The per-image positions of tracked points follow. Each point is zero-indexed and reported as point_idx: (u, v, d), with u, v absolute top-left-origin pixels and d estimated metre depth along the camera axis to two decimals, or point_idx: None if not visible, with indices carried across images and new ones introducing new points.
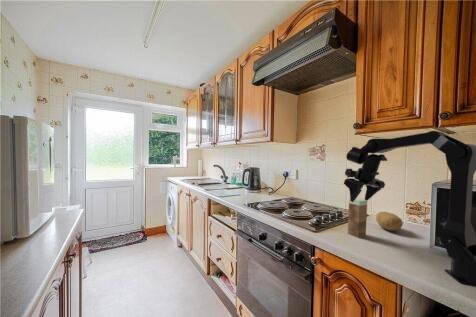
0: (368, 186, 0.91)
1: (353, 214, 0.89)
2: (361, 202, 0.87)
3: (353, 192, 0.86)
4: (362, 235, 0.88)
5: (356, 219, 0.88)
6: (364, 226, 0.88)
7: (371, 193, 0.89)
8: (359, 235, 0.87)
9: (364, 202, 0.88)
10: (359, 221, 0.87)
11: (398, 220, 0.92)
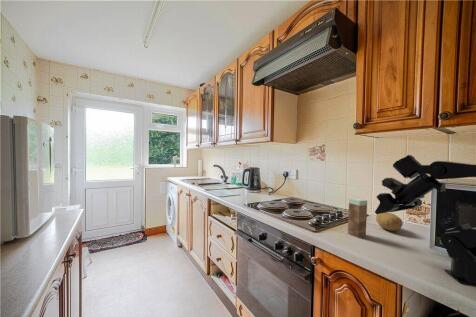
0: None
1: (353, 214, 0.89)
2: (361, 202, 0.87)
3: (383, 207, 0.75)
4: (362, 235, 0.88)
5: (356, 219, 0.88)
6: (364, 226, 0.88)
7: (400, 208, 0.78)
8: (359, 235, 0.87)
9: (364, 202, 0.88)
10: (359, 221, 0.87)
11: (398, 220, 0.92)
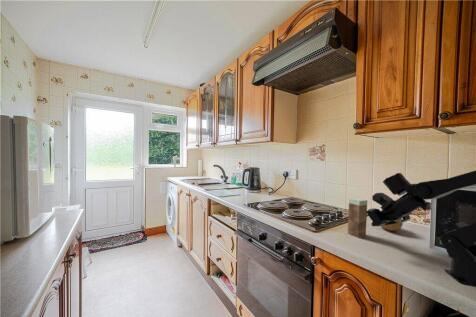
0: None
1: (353, 214, 0.89)
2: (361, 202, 0.87)
3: None
4: (362, 235, 0.88)
5: (356, 219, 0.88)
6: (364, 226, 0.88)
7: None
8: (359, 235, 0.87)
9: (364, 202, 0.88)
10: (359, 221, 0.87)
11: (398, 220, 0.92)
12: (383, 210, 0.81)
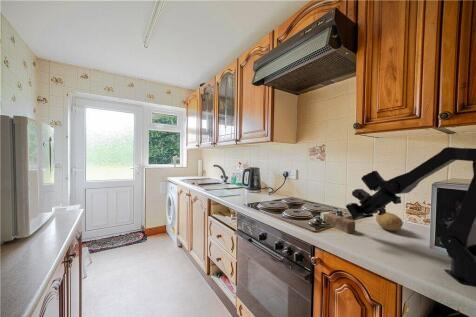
0: None
1: (330, 221, 1.00)
2: (323, 212, 1.06)
3: None
4: (350, 221, 0.93)
5: (333, 219, 0.99)
6: (345, 218, 0.97)
7: None
8: (347, 221, 0.93)
9: (326, 212, 1.07)
10: (335, 217, 0.98)
11: (398, 220, 0.92)
12: None
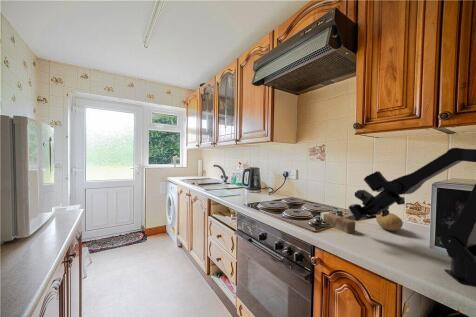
0: None
1: (330, 221, 1.00)
2: (323, 212, 1.06)
3: None
4: (350, 221, 0.93)
5: (333, 219, 0.99)
6: (345, 218, 0.97)
7: None
8: (347, 221, 0.93)
9: (326, 212, 1.07)
10: (335, 217, 0.98)
11: (398, 220, 0.92)
12: (365, 206, 0.88)
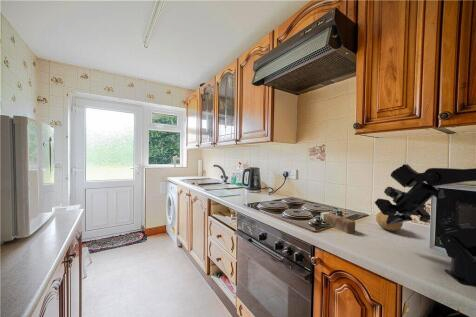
0: None
1: (330, 221, 1.00)
2: (323, 212, 1.06)
3: (392, 216, 0.76)
4: (350, 221, 0.93)
5: (333, 219, 0.99)
6: (345, 218, 0.97)
7: None
8: (347, 221, 0.93)
9: (326, 212, 1.07)
10: (335, 217, 0.98)
11: None
12: None
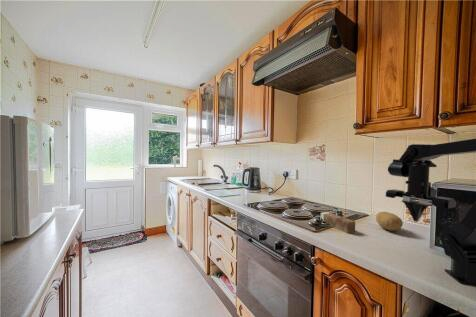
0: None
1: (330, 221, 1.00)
2: (323, 212, 1.06)
3: None
4: (350, 221, 0.93)
5: (333, 219, 0.99)
6: (345, 218, 0.97)
7: None
8: (347, 221, 0.93)
9: (326, 212, 1.07)
10: (335, 217, 0.98)
11: (398, 220, 0.92)
12: None
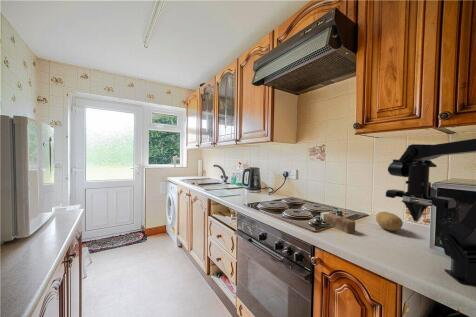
0: None
1: (330, 221, 1.00)
2: (323, 212, 1.06)
3: None
4: (350, 221, 0.93)
5: (333, 219, 0.99)
6: (345, 218, 0.97)
7: None
8: (347, 221, 0.93)
9: (326, 212, 1.07)
10: (335, 217, 0.98)
11: (398, 220, 0.92)
12: None
